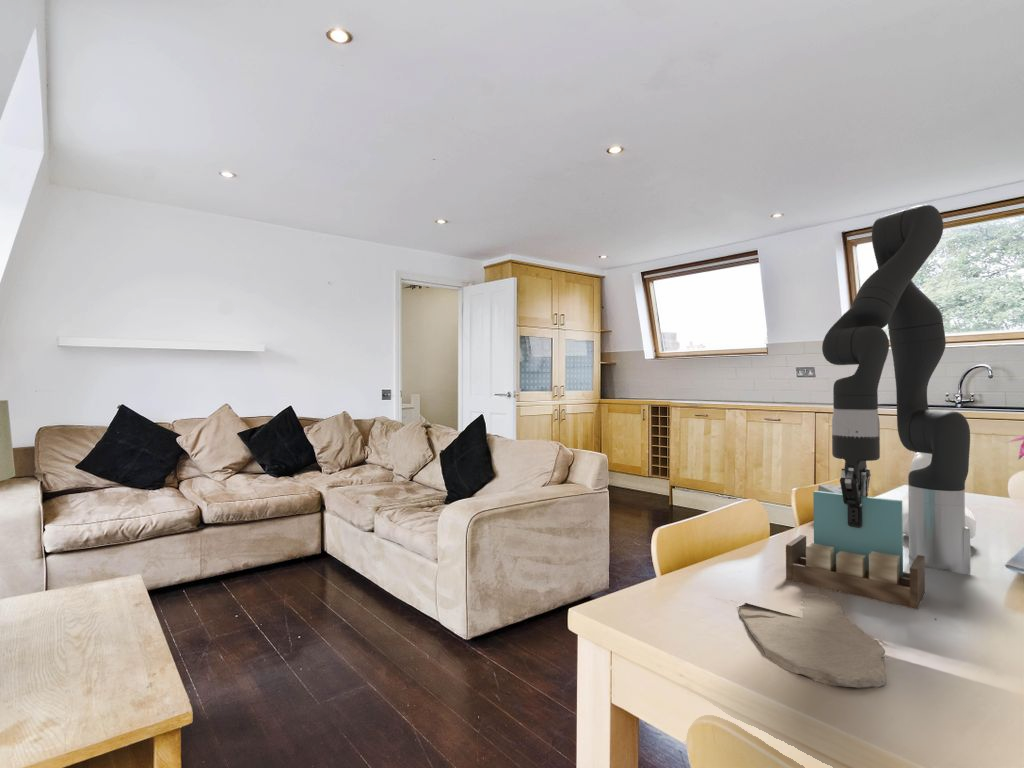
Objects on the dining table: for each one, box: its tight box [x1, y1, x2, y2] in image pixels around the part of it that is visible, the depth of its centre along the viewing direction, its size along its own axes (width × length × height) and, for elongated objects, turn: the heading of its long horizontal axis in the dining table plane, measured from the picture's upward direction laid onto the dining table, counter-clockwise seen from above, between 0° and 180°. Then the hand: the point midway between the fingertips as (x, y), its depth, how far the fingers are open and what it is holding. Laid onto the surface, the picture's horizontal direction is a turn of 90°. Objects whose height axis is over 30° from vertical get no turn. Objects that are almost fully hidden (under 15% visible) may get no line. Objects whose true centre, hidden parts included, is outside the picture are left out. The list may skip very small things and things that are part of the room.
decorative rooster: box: [900, 452, 977, 539], centre depth 135 cm, size 25×16×25 cm, turn 138°
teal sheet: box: [812, 490, 904, 577], centre depth 100 cm, size 14×1×16 cm, turn 47°
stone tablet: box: [737, 592, 887, 689], centre depth 81 cm, size 16×30×2 cm, turn 167°
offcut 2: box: [869, 551, 900, 585], centre depth 93 cm, size 4×3×7 cm
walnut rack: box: [785, 534, 926, 610], centre depth 98 cm, size 20×10×8 cm, turn 46°
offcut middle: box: [836, 551, 866, 578], centre depth 96 cm, size 4×3×6 cm
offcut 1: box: [806, 542, 834, 572], centre depth 100 cm, size 4×3×6 cm
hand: (856, 525), depth 100 cm, fingers closed on teal sheet, 1 cm apart
